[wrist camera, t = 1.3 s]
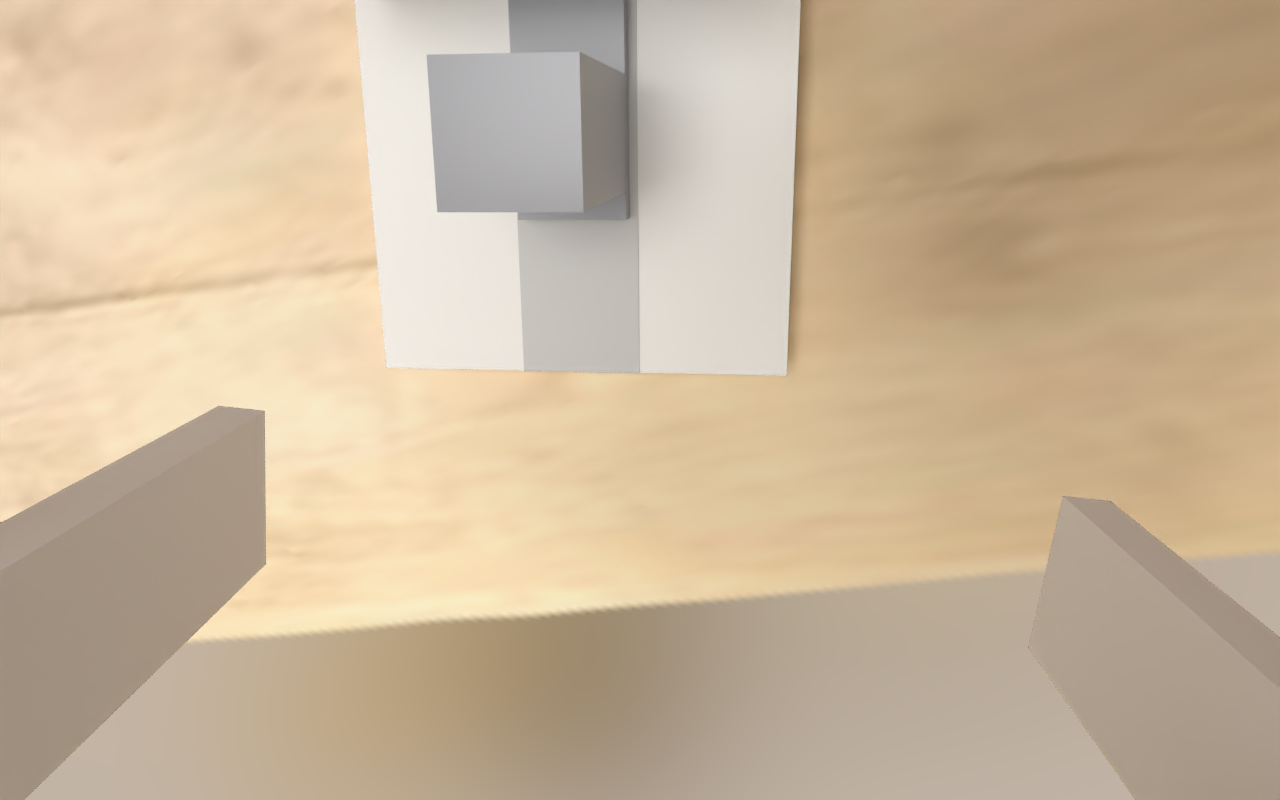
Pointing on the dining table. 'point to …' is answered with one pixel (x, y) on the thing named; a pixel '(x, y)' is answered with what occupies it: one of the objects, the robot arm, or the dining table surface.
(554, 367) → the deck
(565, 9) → the grey l-shaped piece
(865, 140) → the dining table surface
